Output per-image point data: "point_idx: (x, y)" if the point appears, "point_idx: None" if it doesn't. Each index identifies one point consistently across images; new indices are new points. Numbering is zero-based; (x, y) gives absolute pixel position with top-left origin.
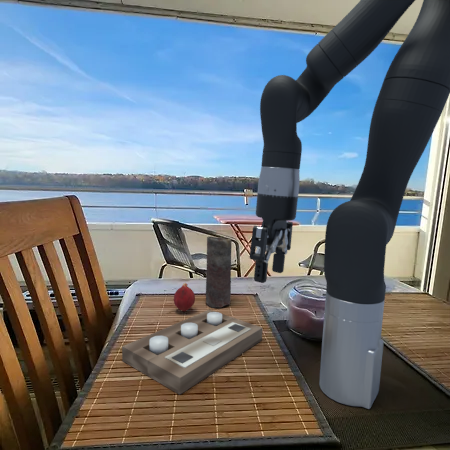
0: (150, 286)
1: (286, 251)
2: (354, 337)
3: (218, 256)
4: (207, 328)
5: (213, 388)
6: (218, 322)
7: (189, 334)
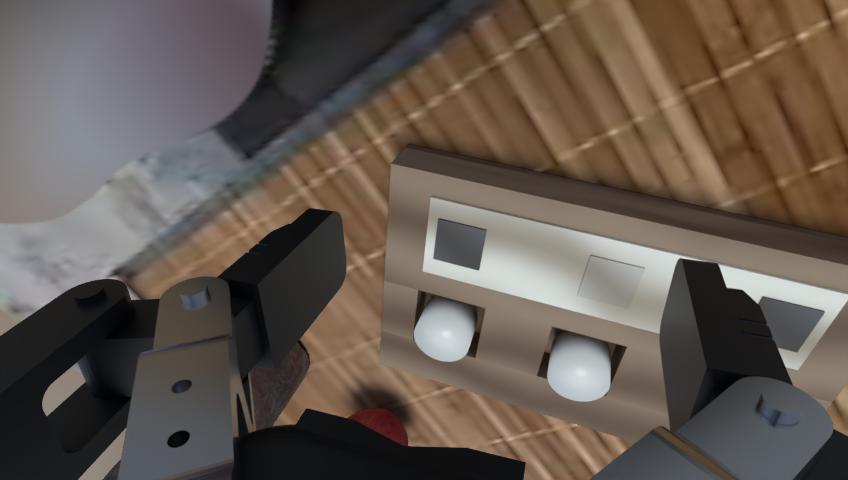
0: None
1: (200, 294)
2: None
3: None
4: (516, 325)
5: (819, 171)
6: (458, 310)
7: (607, 358)
